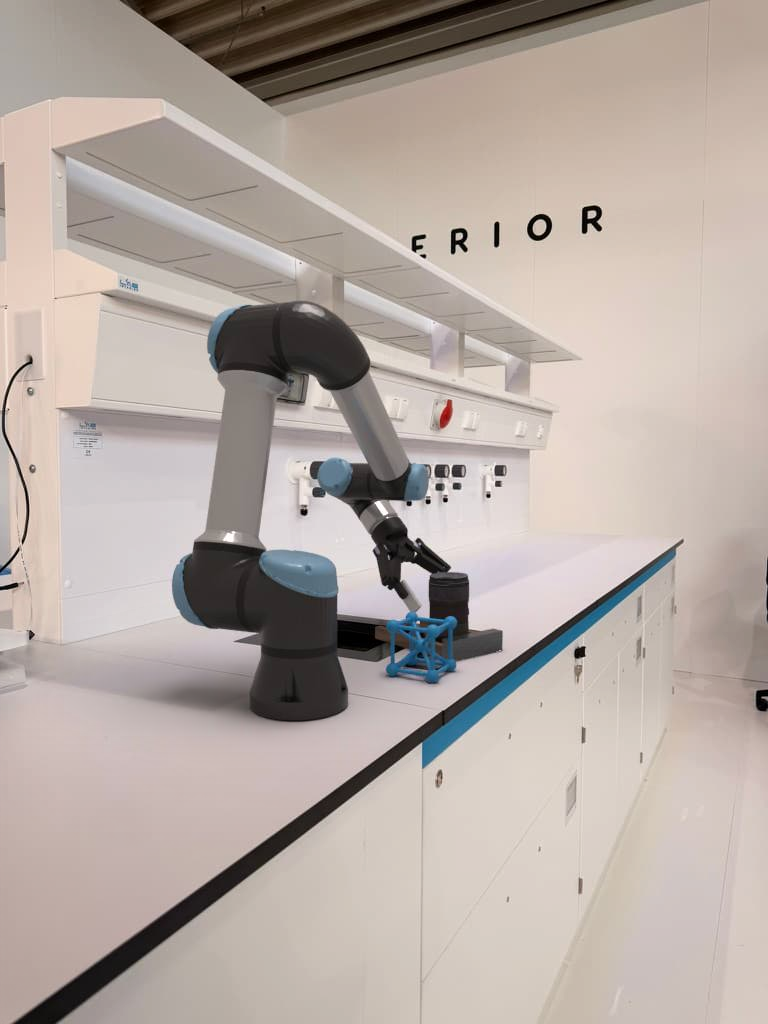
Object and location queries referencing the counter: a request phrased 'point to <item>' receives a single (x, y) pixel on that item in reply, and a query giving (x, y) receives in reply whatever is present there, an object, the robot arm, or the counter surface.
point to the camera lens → (449, 601)
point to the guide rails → (402, 641)
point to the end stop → (473, 644)
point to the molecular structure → (421, 646)
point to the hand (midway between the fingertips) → (438, 605)
